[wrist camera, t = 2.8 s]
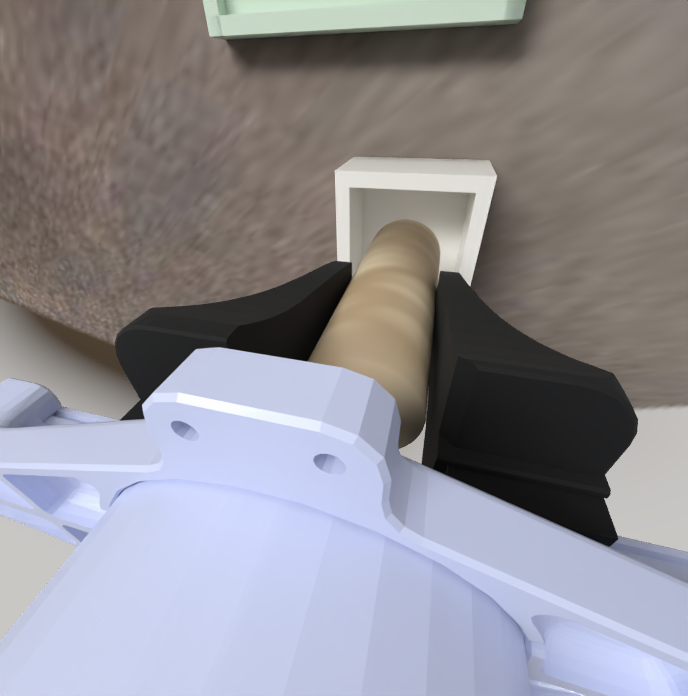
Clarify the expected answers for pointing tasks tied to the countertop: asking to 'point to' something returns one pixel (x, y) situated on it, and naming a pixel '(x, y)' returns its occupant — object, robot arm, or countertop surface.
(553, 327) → the countertop surface
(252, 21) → the tray
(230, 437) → the robot arm
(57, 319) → the countertop surface
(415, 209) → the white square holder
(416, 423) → the dowel
